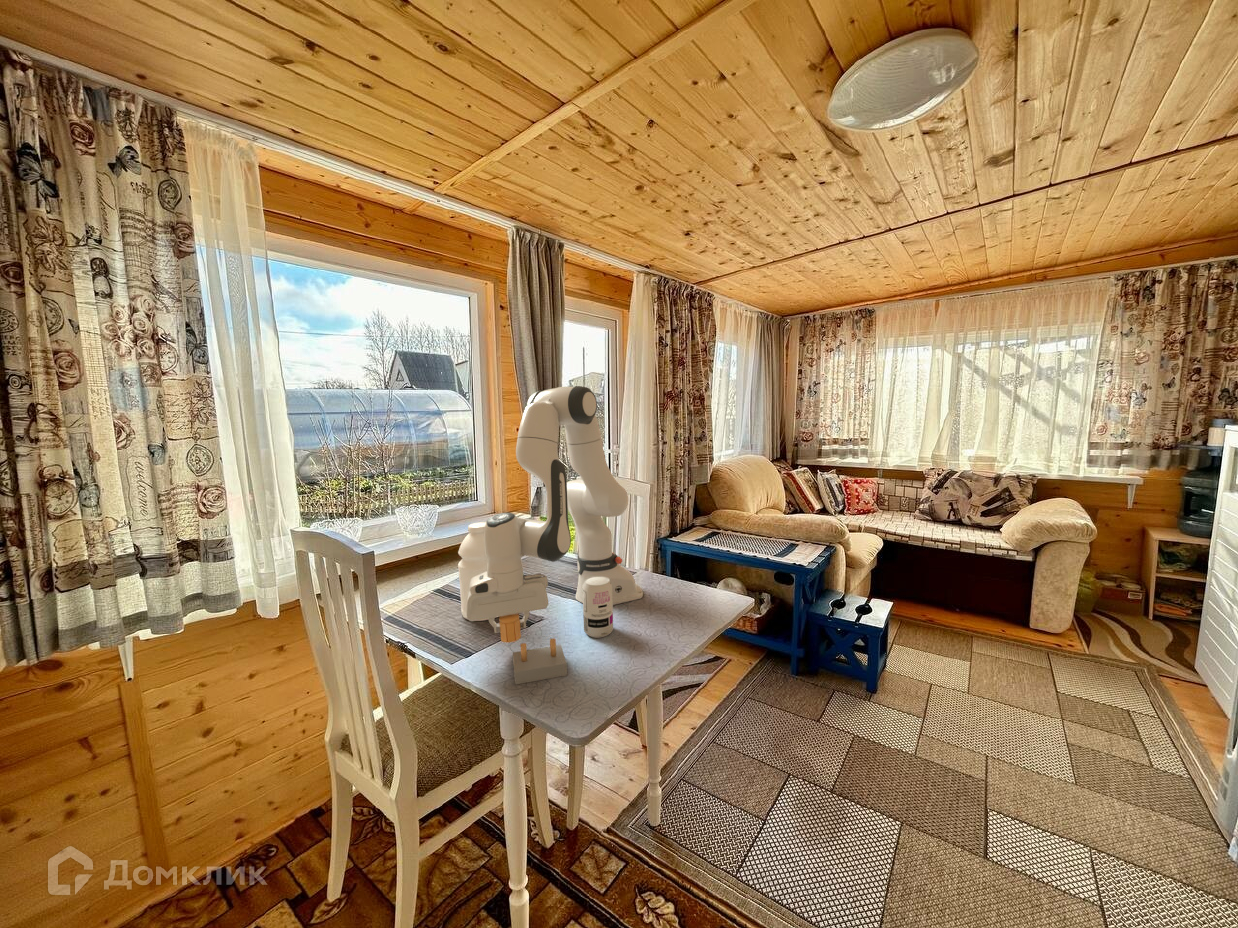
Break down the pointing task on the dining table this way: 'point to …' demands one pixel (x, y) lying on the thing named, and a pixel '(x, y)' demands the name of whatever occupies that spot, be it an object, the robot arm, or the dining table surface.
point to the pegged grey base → (539, 663)
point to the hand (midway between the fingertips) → (510, 629)
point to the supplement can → (597, 606)
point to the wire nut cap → (510, 628)
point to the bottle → (471, 561)
